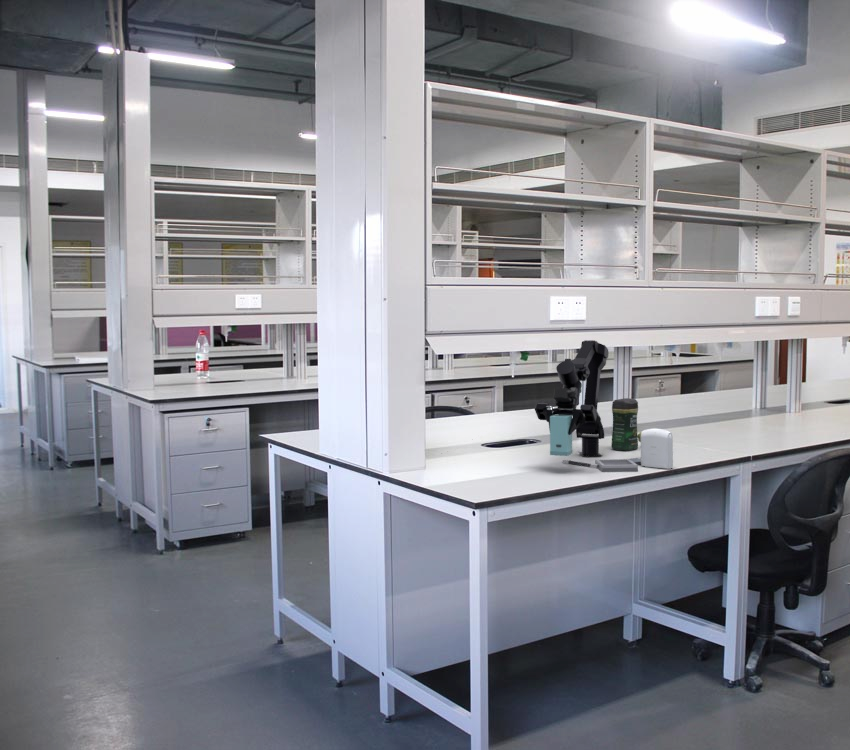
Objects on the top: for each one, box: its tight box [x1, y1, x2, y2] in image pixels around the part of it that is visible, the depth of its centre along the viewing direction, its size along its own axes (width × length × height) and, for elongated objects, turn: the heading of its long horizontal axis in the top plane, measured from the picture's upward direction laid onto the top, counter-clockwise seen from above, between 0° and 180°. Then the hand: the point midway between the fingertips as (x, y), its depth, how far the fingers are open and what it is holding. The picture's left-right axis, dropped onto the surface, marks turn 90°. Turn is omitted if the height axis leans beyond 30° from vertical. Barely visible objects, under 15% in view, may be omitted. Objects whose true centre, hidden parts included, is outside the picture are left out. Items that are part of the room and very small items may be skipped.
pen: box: [561, 459, 598, 469], centre depth 262 cm, size 14×1×1 cm, turn 40°
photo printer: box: [640, 427, 674, 470], centre depth 256 cm, size 10×4×12 cm, turn 47°
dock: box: [594, 458, 639, 473], centre depth 255 cm, size 11×11×2 cm
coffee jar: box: [611, 397, 639, 452], centre depth 292 cm, size 10×8×19 cm
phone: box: [629, 457, 641, 466], centre depth 263 cm, size 7×14×1 cm, turn 105°
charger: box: [549, 414, 574, 457], centre depth 250 cm, size 5×6×12 cm
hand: (559, 433), depth 249 cm, fingers closed on charger, 5 cm apart
